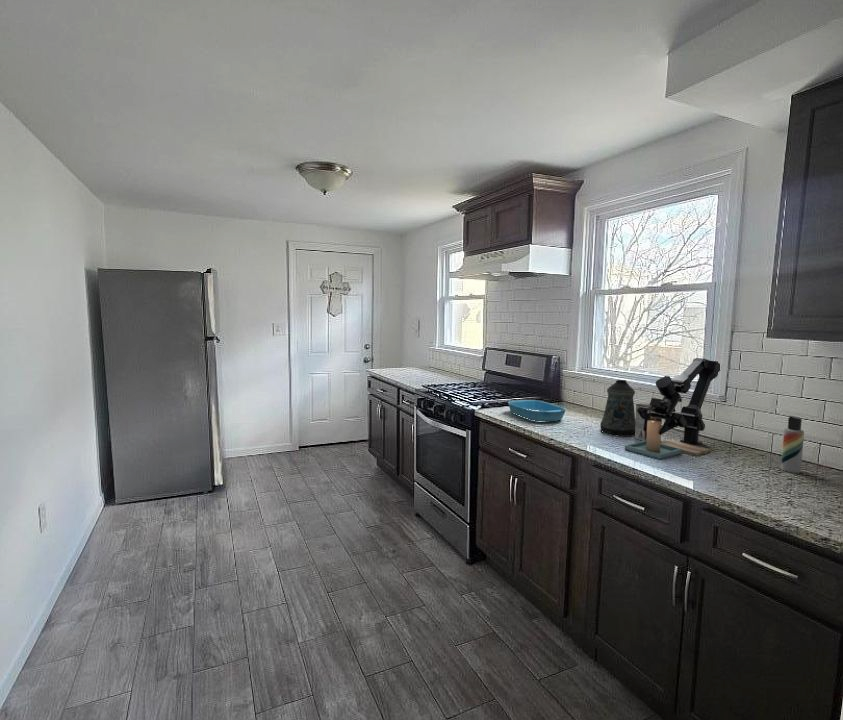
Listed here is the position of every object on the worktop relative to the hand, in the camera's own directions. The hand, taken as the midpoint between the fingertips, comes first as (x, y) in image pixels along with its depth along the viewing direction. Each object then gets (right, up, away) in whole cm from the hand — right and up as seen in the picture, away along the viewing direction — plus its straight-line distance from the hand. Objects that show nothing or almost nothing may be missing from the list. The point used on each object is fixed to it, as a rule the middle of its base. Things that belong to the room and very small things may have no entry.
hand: (651, 432), depth 191 cm
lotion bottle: (+40, -11, -21) cm, 47 cm away
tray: (+1, -8, +2) cm, 8 cm away
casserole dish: (-31, -2, +67) cm, 74 cm away
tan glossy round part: (+1, -8, +1) cm, 8 cm away
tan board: (+16, -8, +6) cm, 19 cm away
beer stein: (+1, -5, +36) cm, 36 cm away
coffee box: (+9, -7, +22) cm, 24 cm away
